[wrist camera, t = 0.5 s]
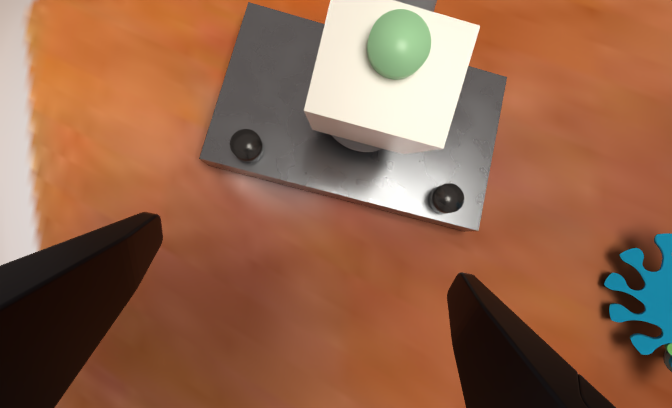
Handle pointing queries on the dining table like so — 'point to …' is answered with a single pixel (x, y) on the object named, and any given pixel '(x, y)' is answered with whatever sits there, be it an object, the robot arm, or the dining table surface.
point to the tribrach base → (327, 153)
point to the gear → (648, 298)
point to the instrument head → (389, 74)
